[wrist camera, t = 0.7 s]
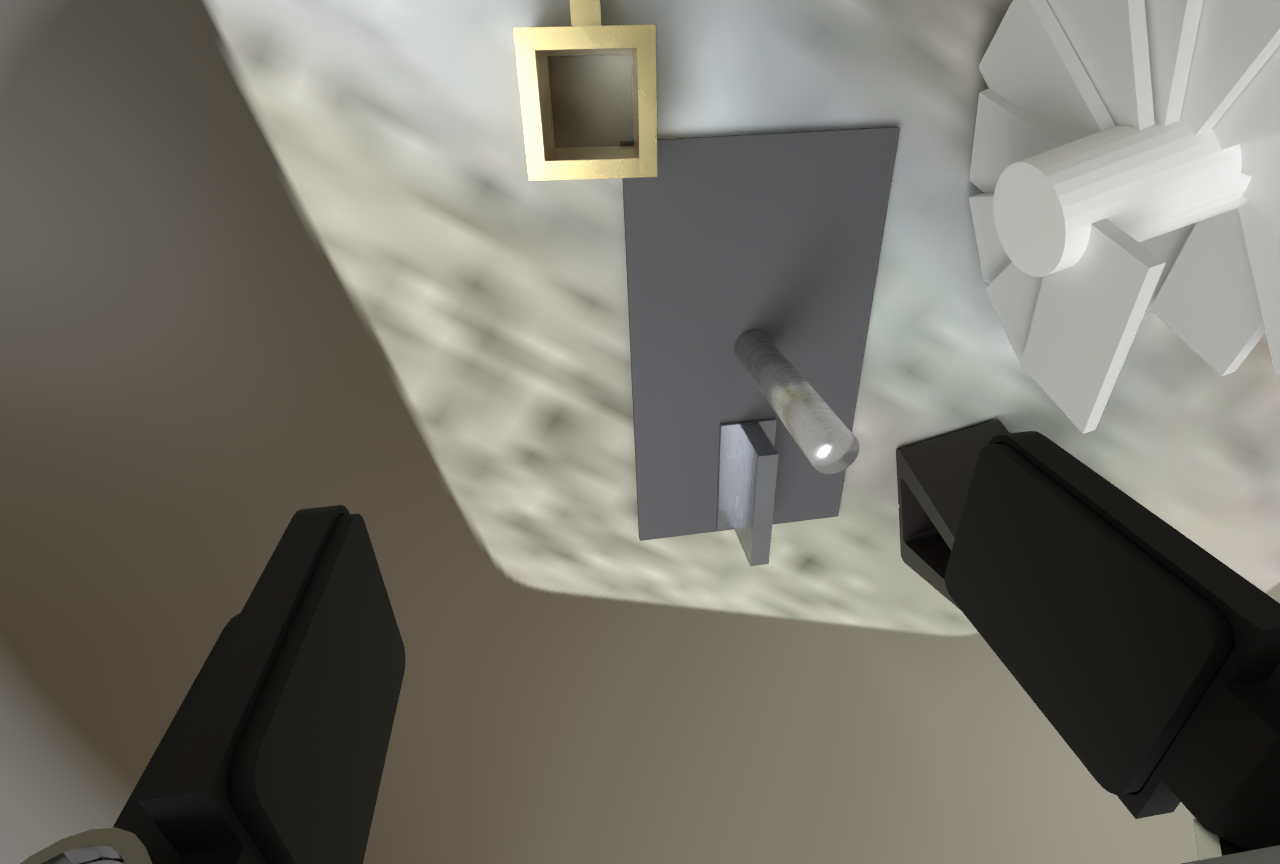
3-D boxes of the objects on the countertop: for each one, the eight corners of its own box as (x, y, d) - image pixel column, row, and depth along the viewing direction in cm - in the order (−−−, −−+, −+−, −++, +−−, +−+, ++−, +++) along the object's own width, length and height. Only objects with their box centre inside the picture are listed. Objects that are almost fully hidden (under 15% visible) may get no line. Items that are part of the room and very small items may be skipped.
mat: (620, 141, 26) (622, 142, 25) (895, 126, 27) (900, 127, 27) (638, 536, 36) (640, 540, 36) (835, 512, 38) (838, 516, 37)
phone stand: (895, 446, 36) (1040, 597, 26) (995, 416, 36) (1180, 556, 26) (900, 558, 41) (1024, 723, 30) (988, 531, 41) (1142, 688, 30)
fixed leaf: (722, 331, 30) (797, 435, 22) (782, 326, 31) (878, 426, 22) (716, 527, 36) (771, 668, 28) (765, 521, 37) (835, 658, 28)
